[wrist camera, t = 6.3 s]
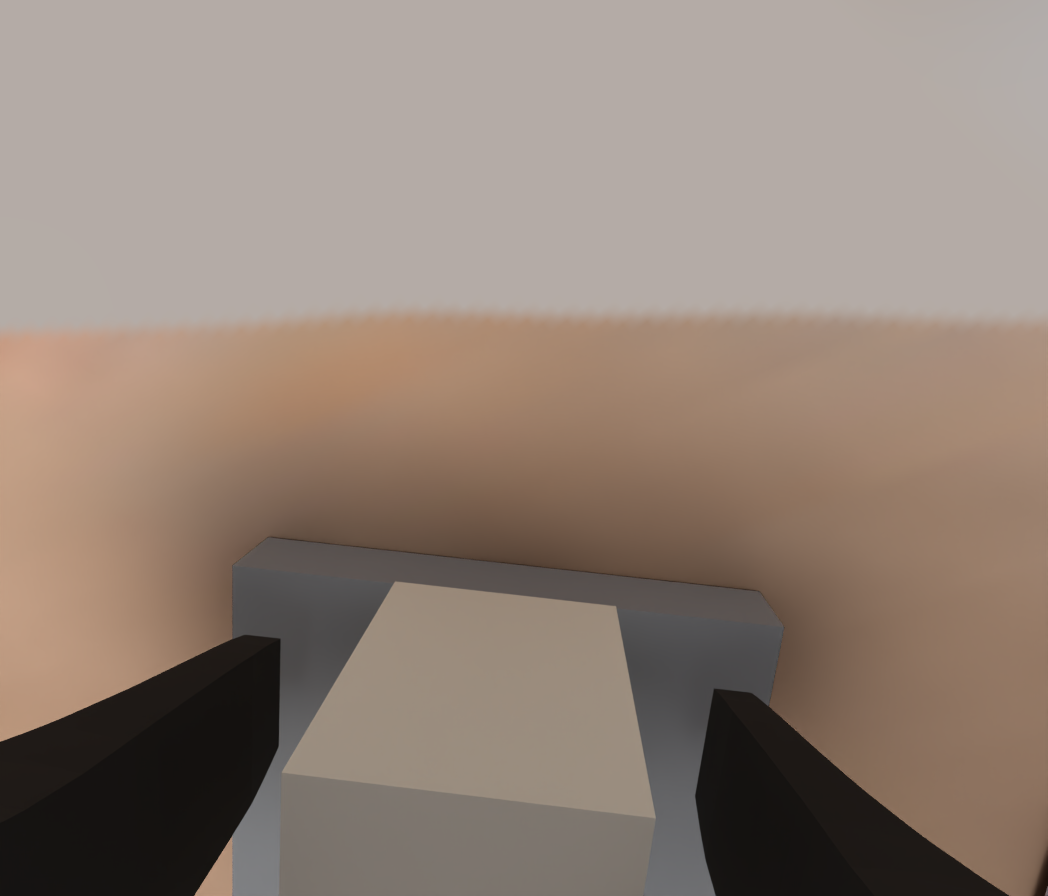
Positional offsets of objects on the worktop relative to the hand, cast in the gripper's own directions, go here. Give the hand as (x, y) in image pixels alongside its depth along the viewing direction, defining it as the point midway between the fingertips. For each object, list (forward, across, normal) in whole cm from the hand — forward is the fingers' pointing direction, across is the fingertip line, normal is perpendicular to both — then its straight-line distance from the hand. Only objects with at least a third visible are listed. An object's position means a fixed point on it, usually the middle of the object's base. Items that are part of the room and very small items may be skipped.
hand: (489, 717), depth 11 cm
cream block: (+1, 0, +4) cm, 4 cm away
